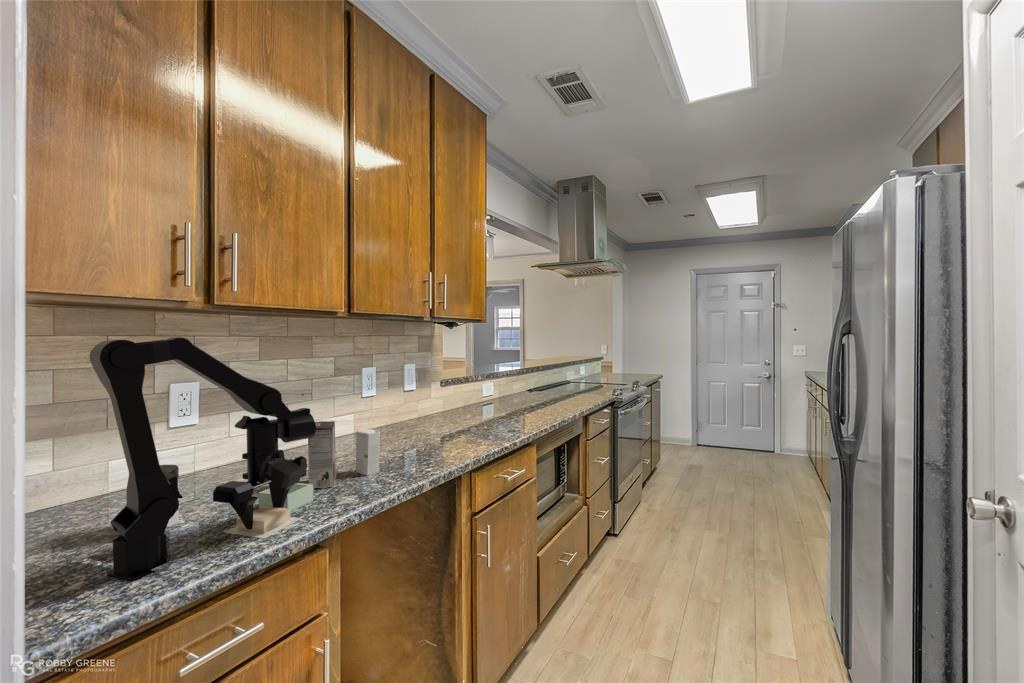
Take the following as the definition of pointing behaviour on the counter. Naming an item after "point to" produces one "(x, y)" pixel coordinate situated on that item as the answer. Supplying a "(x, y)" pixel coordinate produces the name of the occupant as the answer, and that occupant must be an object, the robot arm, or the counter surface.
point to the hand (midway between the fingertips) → (264, 522)
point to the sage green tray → (290, 497)
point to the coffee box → (322, 455)
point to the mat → (245, 533)
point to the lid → (266, 519)
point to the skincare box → (367, 451)
